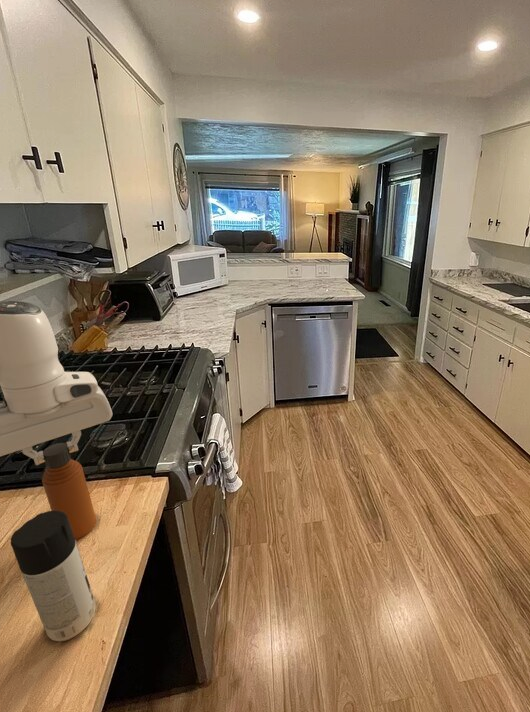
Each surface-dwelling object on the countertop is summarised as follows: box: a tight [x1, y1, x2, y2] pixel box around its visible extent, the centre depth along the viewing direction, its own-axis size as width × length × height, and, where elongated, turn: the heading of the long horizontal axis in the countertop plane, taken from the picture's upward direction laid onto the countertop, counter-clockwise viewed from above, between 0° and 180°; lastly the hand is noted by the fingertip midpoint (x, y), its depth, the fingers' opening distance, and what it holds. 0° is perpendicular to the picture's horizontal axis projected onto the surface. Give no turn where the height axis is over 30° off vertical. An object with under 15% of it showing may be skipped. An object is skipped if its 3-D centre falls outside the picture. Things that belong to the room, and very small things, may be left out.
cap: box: [42, 442, 72, 468], centre depth 68 cm, size 4×4×3 cm
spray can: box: [10, 510, 96, 642], centre depth 54 cm, size 7×7×20 cm
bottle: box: [41, 458, 97, 541], centre depth 71 cm, size 6×6×19 cm
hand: (57, 456), depth 68 cm, fingers closed on cap, 4 cm apart
